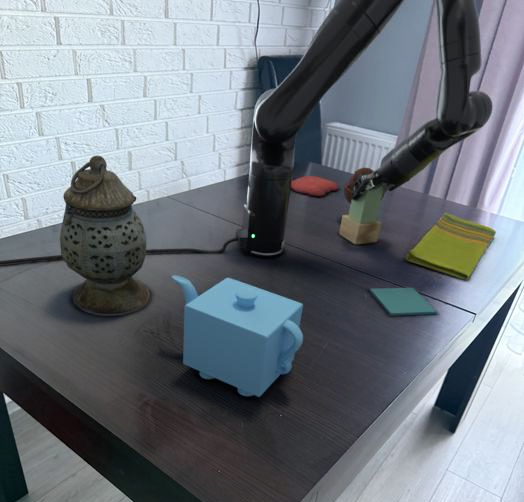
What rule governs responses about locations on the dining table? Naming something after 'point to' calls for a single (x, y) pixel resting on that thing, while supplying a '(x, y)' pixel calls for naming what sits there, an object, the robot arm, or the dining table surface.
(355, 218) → the green block
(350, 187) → the ice cream bowl
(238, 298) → the teapot
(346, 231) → the birch block
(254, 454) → the dining table surface
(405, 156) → the robot arm
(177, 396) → the dining table surface
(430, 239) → the dish towel
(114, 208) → the lantern
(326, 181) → the patty
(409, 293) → the mat
